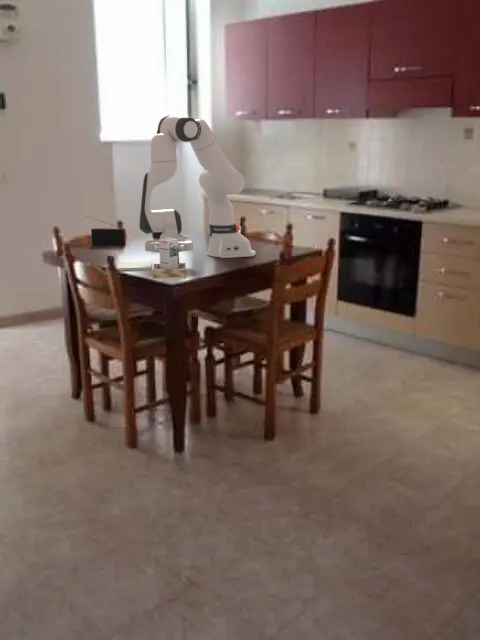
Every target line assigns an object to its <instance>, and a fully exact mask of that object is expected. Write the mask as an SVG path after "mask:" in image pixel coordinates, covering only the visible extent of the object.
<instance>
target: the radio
mask: <svg viewBox="0 0 480 640" xmlns="http://www.w3.org/2000/svg"><path fill="white" fill-rule="evenodd" d="M86 217H88V218H91V219H93V220H96V221H100V222H102V223H105V224H108V225H110V226H113V227H116V228H113V227H112V228H101V227H100V228H98V227H95V228H91V229H90V231H91V233H90V234H91V246H92V247H126V245H127V244H126V243H127V242H126V237H127V236H126V228H122V227H121V226H117V225H115V224H112V223H108V222H105V221H102V220H100V219H96V218H94V217H92V216H88V215H86Z"/></svg>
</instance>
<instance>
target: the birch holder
mask: <svg viewBox="0 0 480 640" xmlns="http://www.w3.org/2000/svg"><path fill="white" fill-rule="evenodd" d="M186 267H187V266H186V263H185V262H179V269H160V263H153V268H152V270H153V275H152V276H153V278H185V277H187V274H186V273H187V270H186V269H187V268H186Z"/></svg>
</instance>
